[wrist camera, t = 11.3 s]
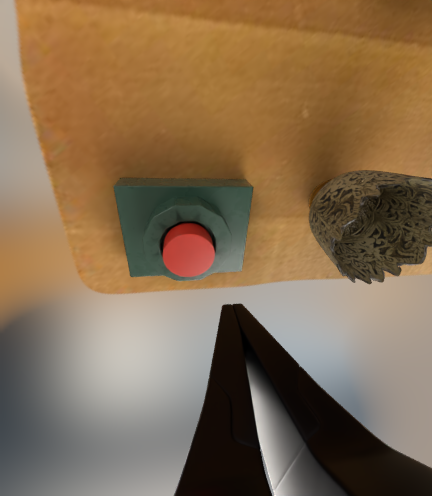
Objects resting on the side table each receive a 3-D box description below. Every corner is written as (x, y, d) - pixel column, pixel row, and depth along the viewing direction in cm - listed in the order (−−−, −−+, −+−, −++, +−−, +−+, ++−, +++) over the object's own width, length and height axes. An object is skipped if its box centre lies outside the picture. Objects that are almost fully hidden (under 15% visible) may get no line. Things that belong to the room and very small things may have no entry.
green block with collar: (246, 179, 19) (261, 194, 15) (236, 258, 23) (246, 284, 19) (119, 177, 17) (106, 194, 14) (134, 262, 21) (126, 291, 18)
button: (212, 222, 16) (216, 233, 15) (210, 262, 18) (213, 275, 17) (162, 222, 16) (160, 234, 14) (165, 264, 18) (164, 278, 16)
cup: (288, 160, 18) (353, 189, 12) (372, 148, 19) (481, 169, 12) (283, 238, 22) (329, 293, 16) (353, 226, 23) (426, 275, 16)
